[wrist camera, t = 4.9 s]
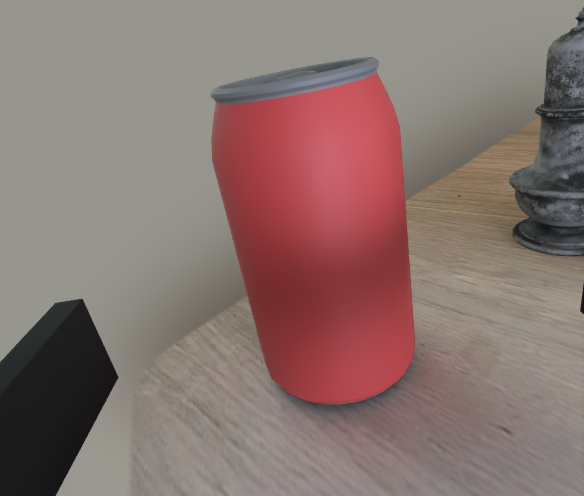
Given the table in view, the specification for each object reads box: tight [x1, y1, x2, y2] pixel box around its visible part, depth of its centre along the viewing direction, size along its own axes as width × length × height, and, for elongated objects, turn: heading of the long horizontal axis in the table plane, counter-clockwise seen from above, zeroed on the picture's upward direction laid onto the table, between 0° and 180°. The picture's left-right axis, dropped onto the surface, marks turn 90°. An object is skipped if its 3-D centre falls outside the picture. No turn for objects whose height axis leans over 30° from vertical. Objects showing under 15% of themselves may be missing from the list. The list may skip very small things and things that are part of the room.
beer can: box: [211, 57, 415, 405], centre depth 17 cm, size 7×7×12 cm
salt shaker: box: [509, 8, 584, 255], centre depth 23 cm, size 6×6×12 cm
